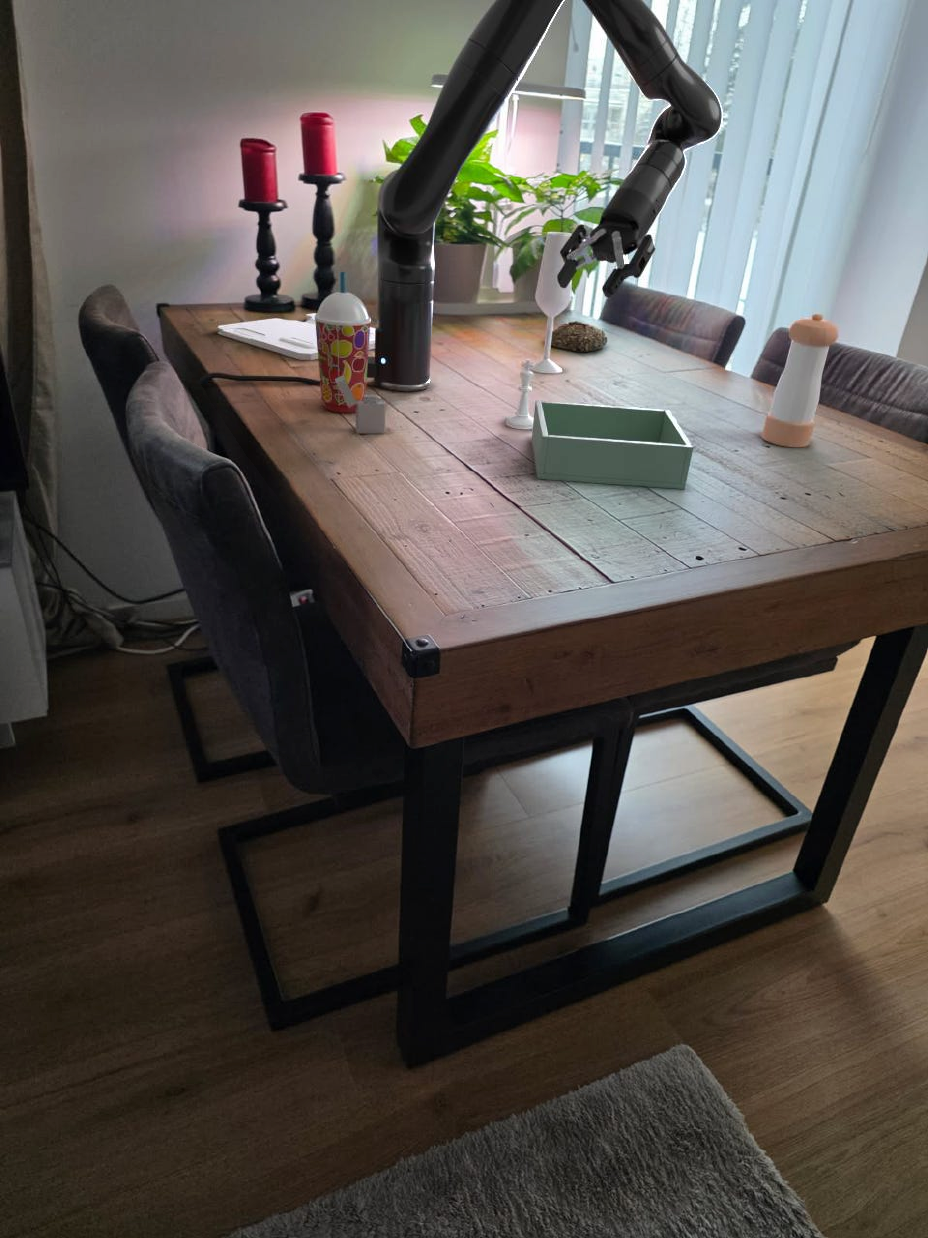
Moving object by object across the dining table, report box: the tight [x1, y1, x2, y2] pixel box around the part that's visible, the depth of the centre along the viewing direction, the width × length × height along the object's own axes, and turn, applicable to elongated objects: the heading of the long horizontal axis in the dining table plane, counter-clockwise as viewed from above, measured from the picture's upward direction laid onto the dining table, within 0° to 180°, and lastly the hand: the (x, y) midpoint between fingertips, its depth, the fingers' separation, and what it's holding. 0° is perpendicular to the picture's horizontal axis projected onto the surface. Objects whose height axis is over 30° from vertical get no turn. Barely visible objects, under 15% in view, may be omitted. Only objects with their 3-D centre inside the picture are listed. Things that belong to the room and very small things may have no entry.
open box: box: [531, 400, 694, 490], centre depth 118 cm, size 20×17×6 cm
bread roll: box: [551, 320, 608, 353], centre depth 184 cm, size 13×12×5 cm
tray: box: [217, 312, 376, 361], centre depth 174 cm, size 28×28×2 cm
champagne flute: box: [529, 231, 573, 374], centre depth 159 cm, size 7×7×24 cm
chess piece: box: [505, 358, 534, 431], centre depth 130 cm, size 5×5×10 cm
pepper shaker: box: [761, 313, 839, 448], centre depth 130 cm, size 7×7×19 cm
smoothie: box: [315, 271, 372, 414], centre depth 129 cm, size 8×8×20 cm
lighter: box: [335, 375, 387, 435], centre depth 122 cm, size 7×2×8 cm, turn 104°
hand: (582, 288), depth 131 cm, fingers open, 8 cm apart
